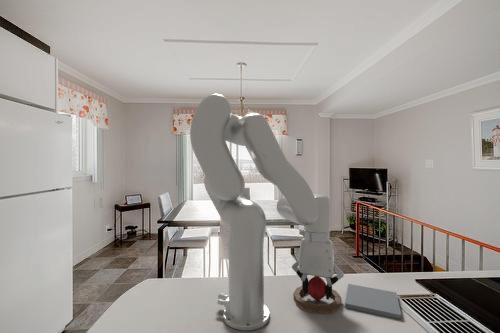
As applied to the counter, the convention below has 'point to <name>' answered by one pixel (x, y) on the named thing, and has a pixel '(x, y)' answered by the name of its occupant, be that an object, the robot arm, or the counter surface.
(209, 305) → the counter surface
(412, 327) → the counter surface
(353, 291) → the board
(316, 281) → the onion
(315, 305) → the ring holder
